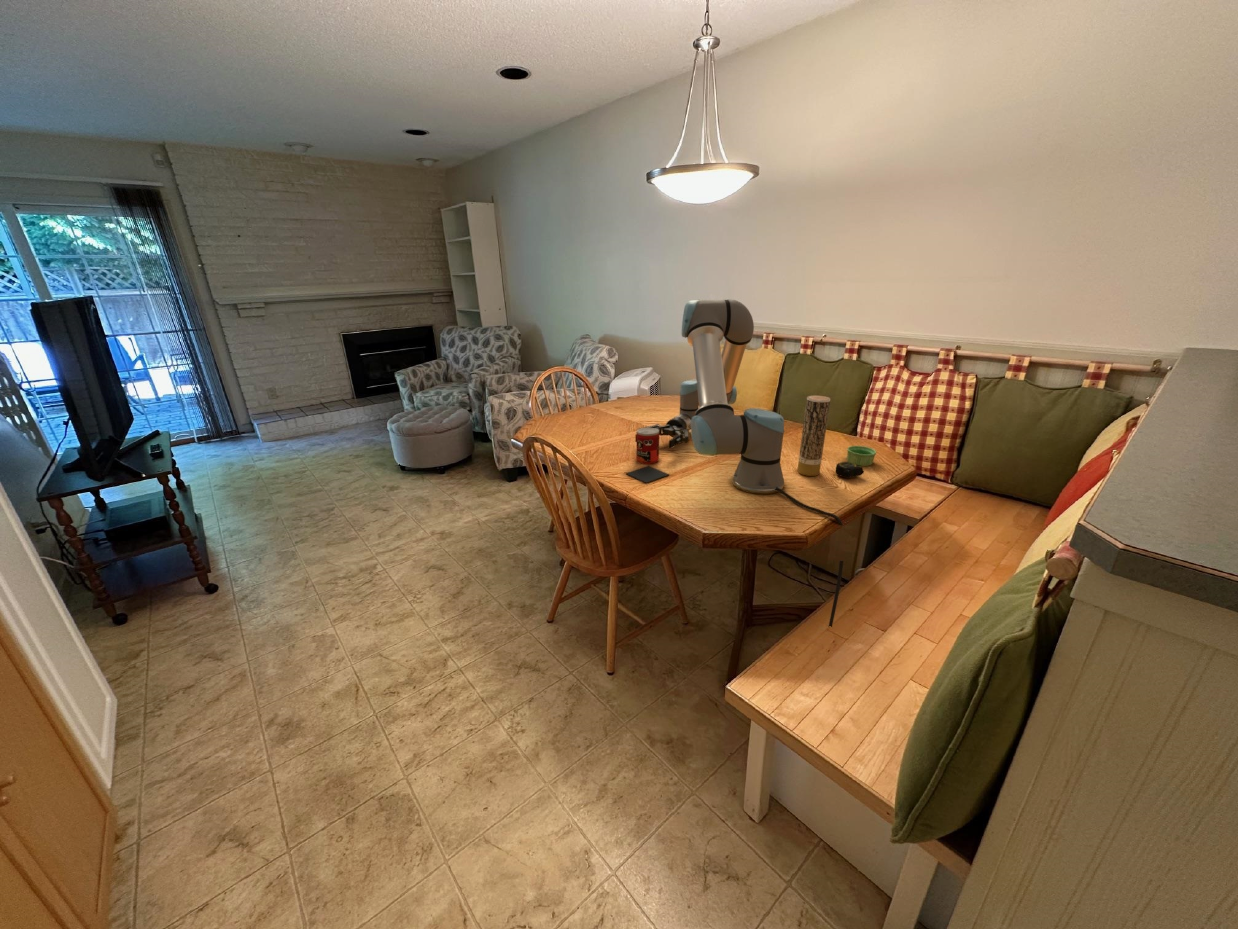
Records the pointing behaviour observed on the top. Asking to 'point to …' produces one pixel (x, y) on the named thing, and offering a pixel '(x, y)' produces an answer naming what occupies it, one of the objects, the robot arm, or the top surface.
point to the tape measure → (848, 469)
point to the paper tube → (813, 435)
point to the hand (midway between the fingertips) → (652, 441)
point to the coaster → (647, 474)
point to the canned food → (647, 445)
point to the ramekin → (860, 455)
